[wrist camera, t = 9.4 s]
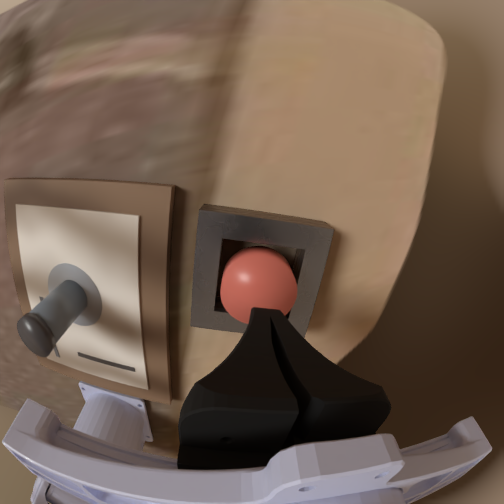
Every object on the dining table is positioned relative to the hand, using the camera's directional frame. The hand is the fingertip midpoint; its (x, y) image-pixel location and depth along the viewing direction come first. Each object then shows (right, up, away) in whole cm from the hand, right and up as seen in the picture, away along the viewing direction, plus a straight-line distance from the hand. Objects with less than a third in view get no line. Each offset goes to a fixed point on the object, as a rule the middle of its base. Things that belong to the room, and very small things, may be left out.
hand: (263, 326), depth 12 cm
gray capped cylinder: (-15, 0, +5) cm, 16 cm away
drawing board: (-15, -1, +7) cm, 16 cm away
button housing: (0, +2, +6) cm, 7 cm away
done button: (0, +2, +5) cm, 5 cm away
